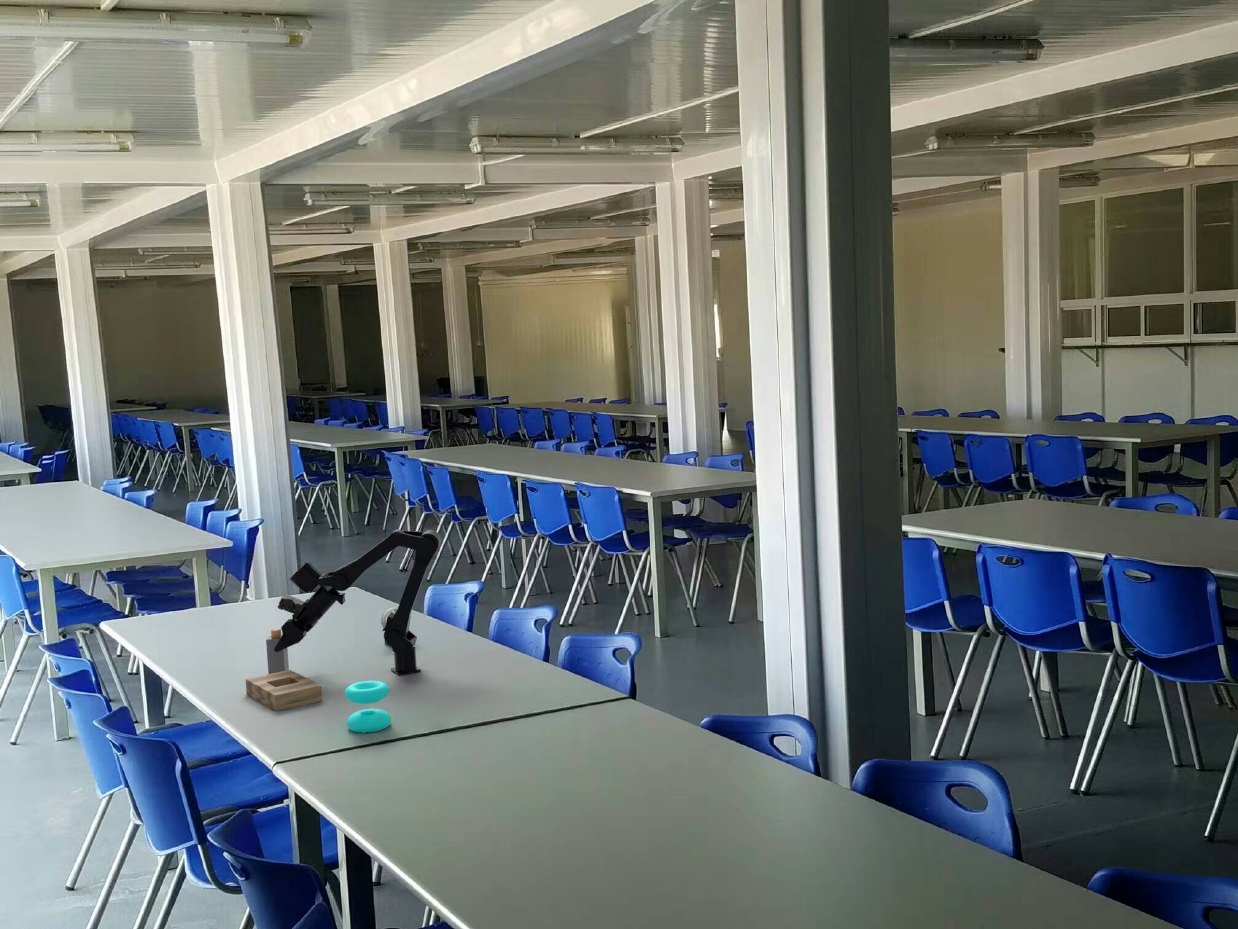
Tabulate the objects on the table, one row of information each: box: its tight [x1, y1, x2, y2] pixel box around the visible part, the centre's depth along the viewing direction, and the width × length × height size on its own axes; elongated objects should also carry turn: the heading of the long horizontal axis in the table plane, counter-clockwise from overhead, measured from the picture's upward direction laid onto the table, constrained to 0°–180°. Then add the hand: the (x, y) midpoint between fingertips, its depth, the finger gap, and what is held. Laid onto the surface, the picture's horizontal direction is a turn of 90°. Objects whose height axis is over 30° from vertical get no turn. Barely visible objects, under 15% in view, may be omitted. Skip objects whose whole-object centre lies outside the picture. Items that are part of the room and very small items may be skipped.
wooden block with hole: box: [245, 669, 323, 712], centre depth 310 cm, size 20×12×4 cm, turn 37°
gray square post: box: [265, 628, 290, 674], centre depth 329 cm, size 4×4×13 cm
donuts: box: [344, 680, 392, 734], centre depth 283 cm, size 10×10×10 cm
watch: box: [380, 606, 399, 647], centre depth 360 cm, size 6×8×11 cm
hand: (279, 646), depth 329 cm, fingers open, 9 cm apart
